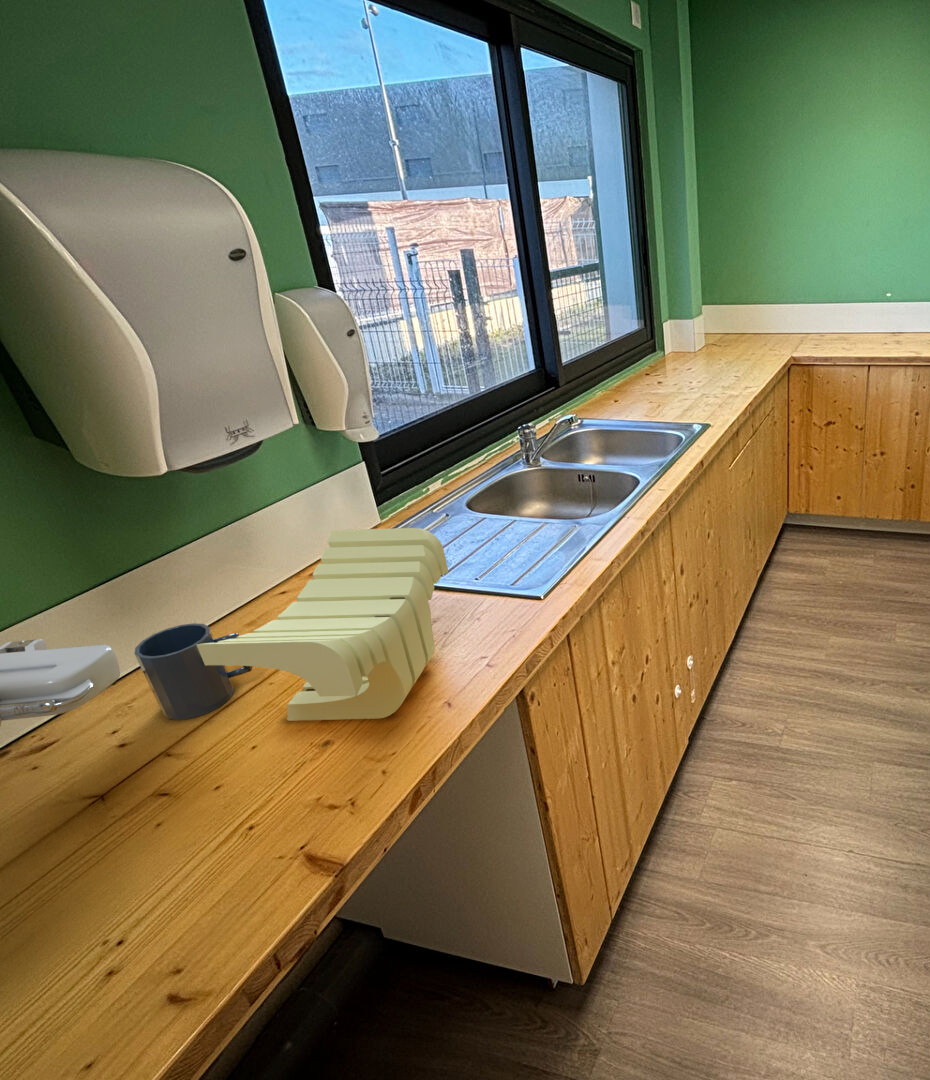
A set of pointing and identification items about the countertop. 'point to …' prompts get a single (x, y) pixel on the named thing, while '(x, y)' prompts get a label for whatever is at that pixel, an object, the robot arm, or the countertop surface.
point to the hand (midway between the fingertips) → (29, 646)
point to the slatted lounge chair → (351, 626)
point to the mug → (185, 671)
